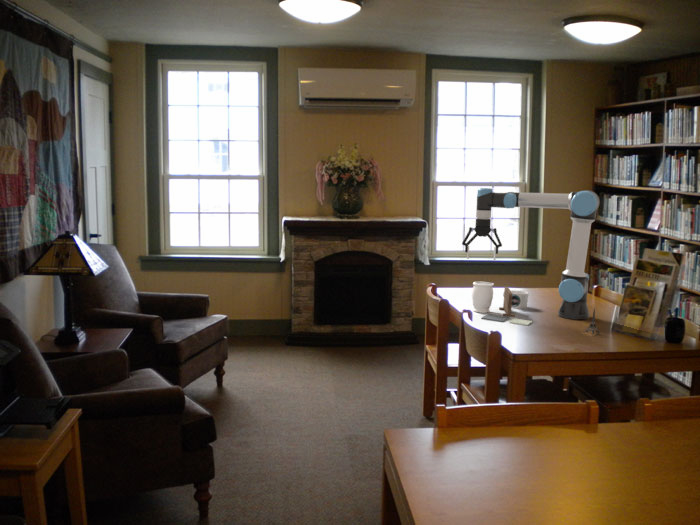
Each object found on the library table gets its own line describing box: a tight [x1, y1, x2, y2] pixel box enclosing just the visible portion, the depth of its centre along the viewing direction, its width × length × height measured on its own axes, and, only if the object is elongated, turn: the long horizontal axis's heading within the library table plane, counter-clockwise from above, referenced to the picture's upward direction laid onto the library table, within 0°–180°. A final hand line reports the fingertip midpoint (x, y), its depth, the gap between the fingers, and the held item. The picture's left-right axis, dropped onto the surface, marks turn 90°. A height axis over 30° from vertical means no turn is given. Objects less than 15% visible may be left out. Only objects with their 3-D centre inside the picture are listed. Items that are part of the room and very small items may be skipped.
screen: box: [498, 286, 516, 318], centre depth 366 cm, size 6×18×12 cm, turn 175°
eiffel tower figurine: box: [584, 307, 600, 334], centre depth 328 cm, size 15×10×13 cm
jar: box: [471, 281, 495, 314], centre depth 367 cm, size 11×10×15 cm
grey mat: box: [480, 313, 510, 323], centre depth 352 cm, size 11×11×1 cm
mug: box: [502, 289, 529, 310], centre depth 383 cm, size 13×10×8 cm
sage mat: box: [508, 317, 533, 326], centre depth 345 cm, size 9×9×1 cm
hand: (481, 259), depth 367 cm, fingers open, 13 cm apart
